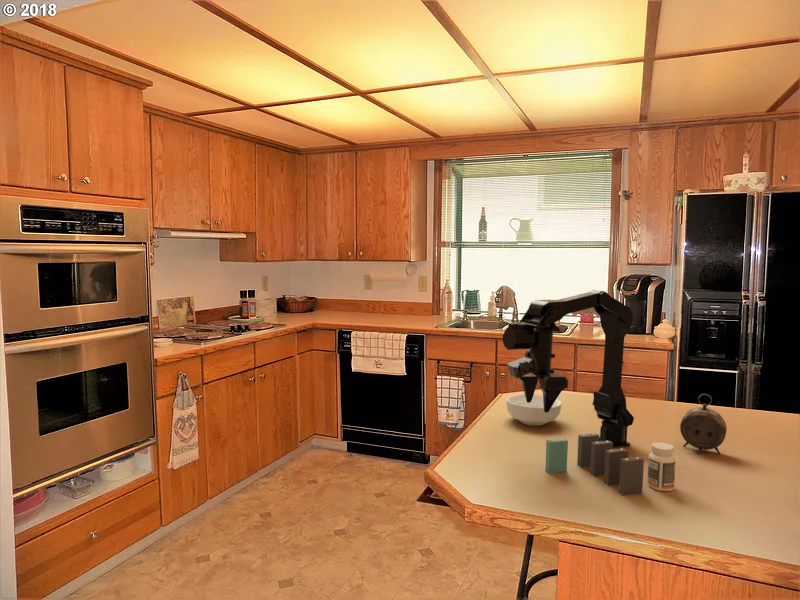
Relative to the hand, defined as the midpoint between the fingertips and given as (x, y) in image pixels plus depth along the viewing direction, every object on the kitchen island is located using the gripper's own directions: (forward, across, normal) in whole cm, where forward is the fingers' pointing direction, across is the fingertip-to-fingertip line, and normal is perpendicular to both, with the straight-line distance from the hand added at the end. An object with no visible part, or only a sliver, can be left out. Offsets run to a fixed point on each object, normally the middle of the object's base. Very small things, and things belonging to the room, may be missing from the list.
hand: (537, 407), depth 146 cm
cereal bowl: (+13, -27, +14) cm, 33 cm away
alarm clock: (+12, +8, +46) cm, 49 cm away
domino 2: (+13, +8, +10) cm, 19 cm away
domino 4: (+13, +20, +10) cm, 26 cm away
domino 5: (+13, +25, +10) cm, 30 cm away
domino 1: (+14, +10, 0) cm, 17 cm away
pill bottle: (+13, +24, +20) cm, 34 cm away
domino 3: (+13, +14, +10) cm, 22 cm away
